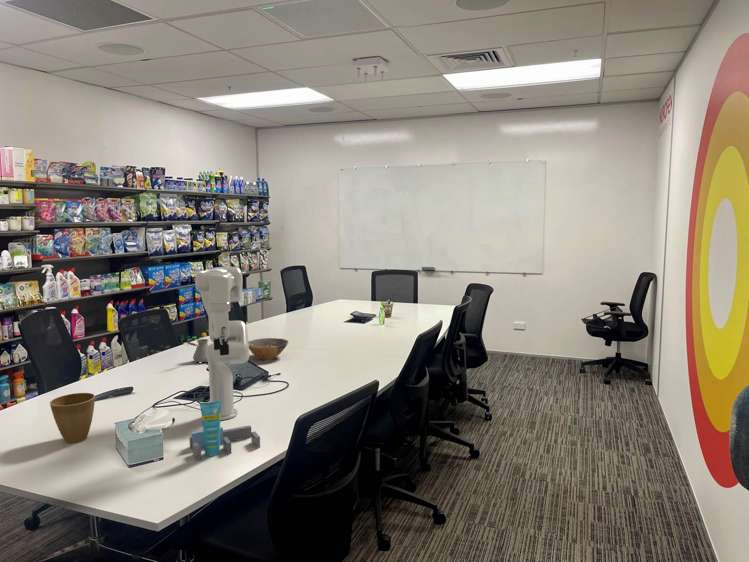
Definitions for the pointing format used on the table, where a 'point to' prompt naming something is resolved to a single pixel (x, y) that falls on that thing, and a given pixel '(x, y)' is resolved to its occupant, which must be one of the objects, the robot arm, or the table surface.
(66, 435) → the plant pot
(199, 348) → the coffee pot
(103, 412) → the table surface
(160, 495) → the table surface
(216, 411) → the tube
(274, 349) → the bowl
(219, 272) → the robot arm
